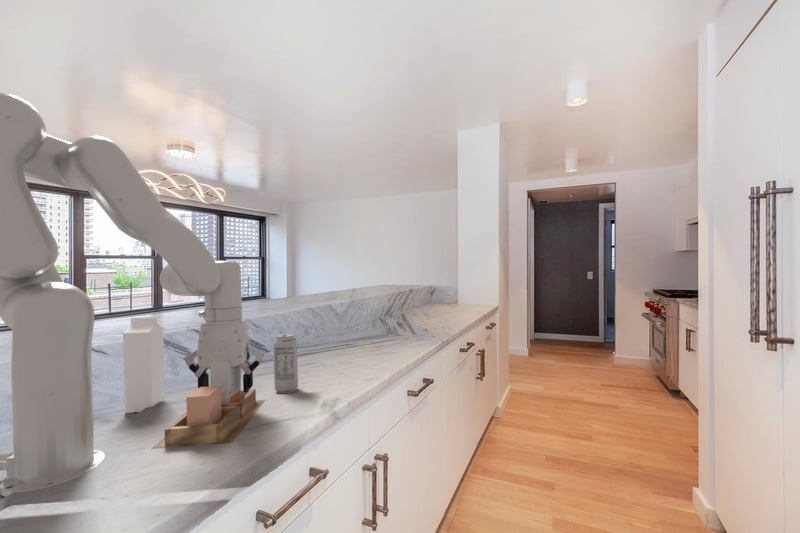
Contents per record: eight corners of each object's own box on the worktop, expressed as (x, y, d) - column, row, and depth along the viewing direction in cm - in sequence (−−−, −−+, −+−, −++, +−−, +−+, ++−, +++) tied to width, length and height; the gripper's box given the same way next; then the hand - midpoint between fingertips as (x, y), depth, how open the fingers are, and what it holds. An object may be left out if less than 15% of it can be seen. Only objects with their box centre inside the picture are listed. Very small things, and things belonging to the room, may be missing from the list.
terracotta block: (187, 439, 69) (186, 397, 69) (201, 426, 75) (200, 387, 75) (209, 438, 70) (208, 395, 70) (221, 424, 76) (220, 385, 76)
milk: (151, 412, 87) (149, 318, 87) (124, 413, 87) (122, 319, 87) (165, 402, 93) (163, 315, 93) (140, 404, 93) (137, 316, 93)
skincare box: (228, 416, 80) (229, 361, 80) (209, 415, 80) (209, 360, 80) (241, 405, 86) (242, 354, 86) (223, 405, 86) (224, 354, 86)
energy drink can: (301, 387, 103) (299, 333, 103) (292, 394, 97) (291, 337, 97) (280, 387, 103) (279, 333, 103) (270, 394, 97) (269, 337, 97)
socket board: (151, 454, 66) (151, 431, 66) (204, 408, 88) (204, 391, 88) (232, 449, 68) (232, 426, 68) (265, 404, 90) (264, 387, 90)
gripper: (175, 319, 79) (177, 399, 79) (258, 316, 81) (260, 395, 81) (191, 314, 86) (193, 388, 86) (267, 312, 88) (269, 384, 88)
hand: (226, 391), depth 84 cm, fingers open, 9 cm apart
